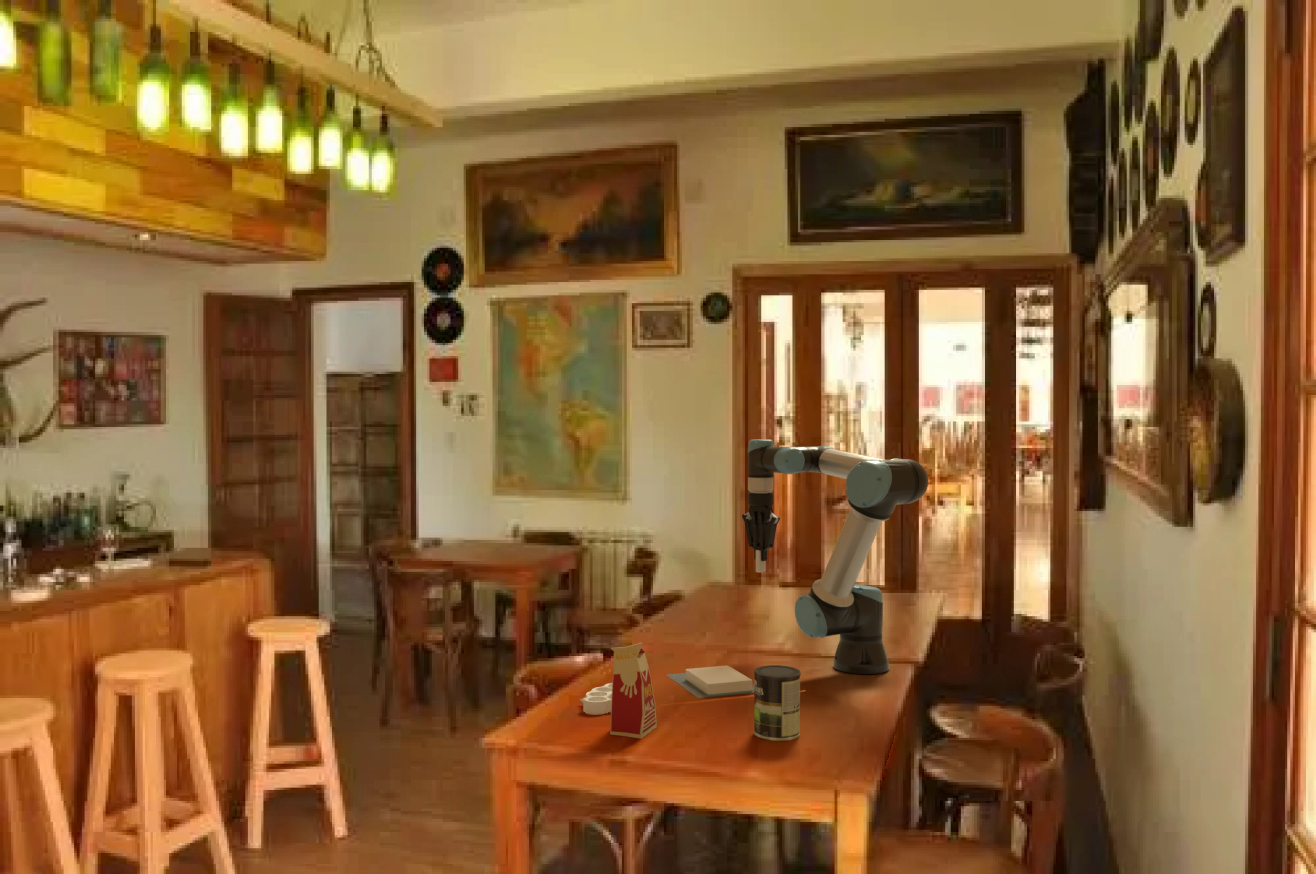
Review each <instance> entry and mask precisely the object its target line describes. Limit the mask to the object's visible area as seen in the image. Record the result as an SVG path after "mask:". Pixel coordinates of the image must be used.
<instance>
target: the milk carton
mask: <svg viewBox="0 0 1316 874" xmlns="http://www.w3.org/2000/svg"><path fill="white" fill-rule="evenodd" d="M642 645H643V642H639V643H636V644H632V645H628V646H620V647H619V646H618V647H611V648H610V649H611V650H612V651H613V673H612V682H611V683H612V700H611V712H610V727H609V728H610V730H609V731H610V733H609V734H610V735H611V736H622V737H630V738H636V739H643V738H644V737H645V736H647V735H648V734H650V733H651V732H652V731H654V730H655V729H656V728H657V727H658V725H657V724H658V721H657V711H656V710H657V709H656V701H655V695H654V694H655V693H654V689H653V681H652V677H651V672H650V667H649V663H648V659H647V656H646V655H647V654H646V652H645V651H644V650H643V648H642ZM654 728H655V729H654ZM653 729H654V730H653Z"/></svg>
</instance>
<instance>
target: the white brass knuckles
mask: <svg viewBox="0 0 1316 874" xmlns="http://www.w3.org/2000/svg"><path fill="white" fill-rule="evenodd" d="M611 700H612V682H610V683H605V684H604V685H602V686H598V687H597V686H596V687H593V688H592V689H591V690H590V691H587V692H586V694H585V696H584V697H583V698H580V699H579V701H580V702H581V703H582V704H583V705H582V706H583V708H582V710H583V713H584V712H585V714H587V715H593V716H594V715H595V716H596V715H597V716H598V715H604V714H605V713H606V714H608V712H609V713H611Z"/></svg>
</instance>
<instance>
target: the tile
mask: <svg viewBox="0 0 1316 874" xmlns="http://www.w3.org/2000/svg"><path fill="white" fill-rule="evenodd" d="M685 673H686V681H687V682H689V683H690V684H692V685H693V686H694V687H696V688H697V689H699V690H700V691H702V692H703V693H704V694H706V695H707V696H715V695H725V694H735V693H745V694H747V693H746V692H752V684H753V679H751V678H749V677H748V676H746V675H744V674H743V673H741V672H739V671H738V670H736V669H734V668H733V667H731V666H729V665H719V666H718V665H716V666H705V667H704V666H703V667H695V668H686V669H685ZM735 695H736V694H735ZM725 696H726V695H725ZM715 697H716V696H715Z"/></svg>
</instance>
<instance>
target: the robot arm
mask: <svg viewBox="0 0 1316 874" xmlns="http://www.w3.org/2000/svg"><path fill="white" fill-rule="evenodd" d="M746 453H747V490H748V491H749V492H748V493H747V504H748V505H749V507H748V512H746V513H743V514H742V515H741V518H742V520H743V522H744V526H745V534H746V539H747V543H748V547H749V548H750V547H751V548H752V549H753V554H754V556H753V558H754V561H755V573H765V572H766V570H767V569H766V568H767V566H766V563H767V561H768V551H769V549H772V548H773V547H774V543H775V538H776V534H777V527H778V523H779V522H780V519H781V518H780V516H777V515H775V514H774V509H773V505H774V500H775V499H774V498H775V497H774V496H775V494H774V493H773V492H772V491H774V473H777V474H784V475H795V474H798V473H818V474H821V475H828V476H832V477H836V478H840V479H843V480H845V487H846V490H845V494H846V496H847V504H848V505H849V508H850V509H849V512H848V514H847V516H846V518H845V521H844V523H843V527H842V528H841V531H840V534H839V535H838V538H837V541H836V542H835V545H834V547H833V550H832V553H831V555H830V557H829V559H828V561H827V562H828V563H826V567H825V568H824V569H825V570H824V572H823V574H822V577H821V578H819V579H816V580H814V582H813V583H812V586H811V588H810V590H809V593H808V594H802V595H801V596H799V597H798V598H797V599H796V600H795V604H794V617H795V621H796V624H797V626H798V628H799V629H800V631H801V632H802V633H803V634H804V635H805V636H806V637H809V638H813V639H815V638H819V639H823V638H827V637H831V636H833V637H834V636H837V635H839V642H838V643H837V647H836V650H835V654H834V657H833V668H834V669H836V670H837V671H840V672H843V673H849V674H855V675H875V674H882V673H885V672H886V673H887V672H888V671H889V669H890V668H889V666H890V665H889V664H890V662H889V658H888V655H887V653H886V649H885V646H884V641H883V618H884V616H883V613H884V610H883V609H884V608H883V607H884V602H883V592H882V591H881V589H880V588H877V587H875V586H869V585H864V584H856V582H857V579H858V578H859V575H860V573H861V571H862V568H863V566H864V564H865V561H866V560H867V557H868V555H869V553H870V551H871V548H872V546H873V543H874V540H875V539H876V536H877V533H878V532H879V529H880V527H881V525H882V522H885V521H888V520H890V518H891V517H892V515H893V512H894V510H895V509H896V506H897V505H899V506H900V505H907V504H913V503H914V502H917V501H919V500H920V499H921V498H922V497H923V496H924V495H925V493H926V492H927V490H928V487H929V476H928V473H927V470H926V468H925V467H923V465H922V464H921V463H919V462H918V461H916V460H913V459H909V458H908V459H907V458H899V457H898V458H892V459H884V458H883V459H882V458H878V457H872V456H868V455H864V454H859V453H852V452H848V451H844V450H838V449H835V448H834V447H833V446H828V445H818V446H817V445H814V446H775V443H774V440H773V439H768V438H767V439H766V438H765V439H764V438H763V439H756V438H755V439H750V440H749V441H748V447H747V452H746Z"/></svg>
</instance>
